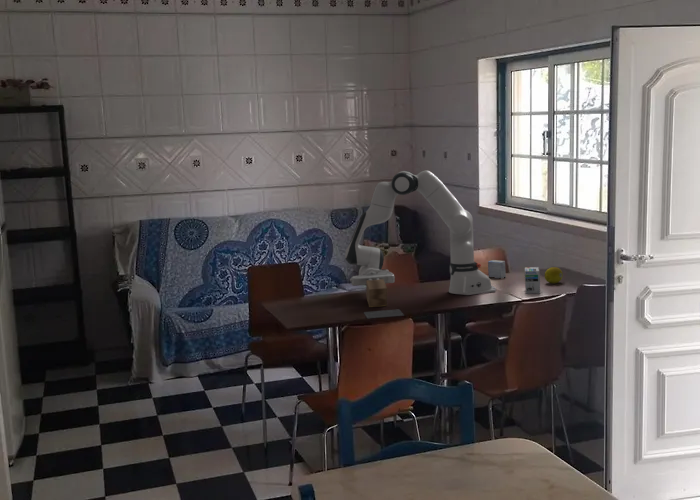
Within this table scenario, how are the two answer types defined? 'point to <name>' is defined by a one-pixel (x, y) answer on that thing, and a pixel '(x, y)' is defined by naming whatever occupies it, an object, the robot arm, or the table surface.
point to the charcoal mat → (383, 313)
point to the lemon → (553, 275)
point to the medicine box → (496, 269)
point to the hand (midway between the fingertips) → (375, 282)
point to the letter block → (376, 293)
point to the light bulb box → (532, 280)
